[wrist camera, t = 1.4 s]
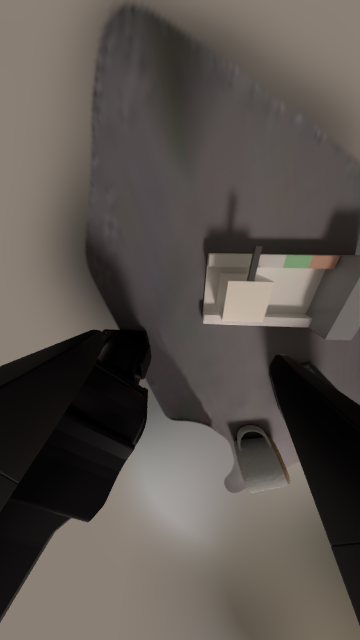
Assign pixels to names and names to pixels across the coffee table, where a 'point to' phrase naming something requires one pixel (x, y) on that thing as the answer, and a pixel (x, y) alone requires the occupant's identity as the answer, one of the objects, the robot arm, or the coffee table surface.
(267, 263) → the base
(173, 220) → the coffee table surface
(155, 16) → the coffee table surface
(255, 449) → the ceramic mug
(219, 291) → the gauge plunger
